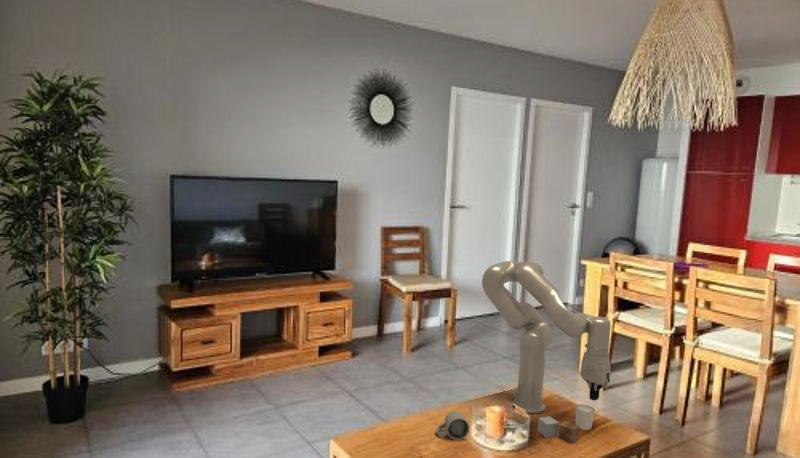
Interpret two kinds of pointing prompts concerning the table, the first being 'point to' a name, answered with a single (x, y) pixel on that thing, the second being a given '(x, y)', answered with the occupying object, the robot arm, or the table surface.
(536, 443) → the table surface
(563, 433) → the walnut block
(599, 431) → the table surface
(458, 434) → the ceramic mug
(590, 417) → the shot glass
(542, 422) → the slate block
